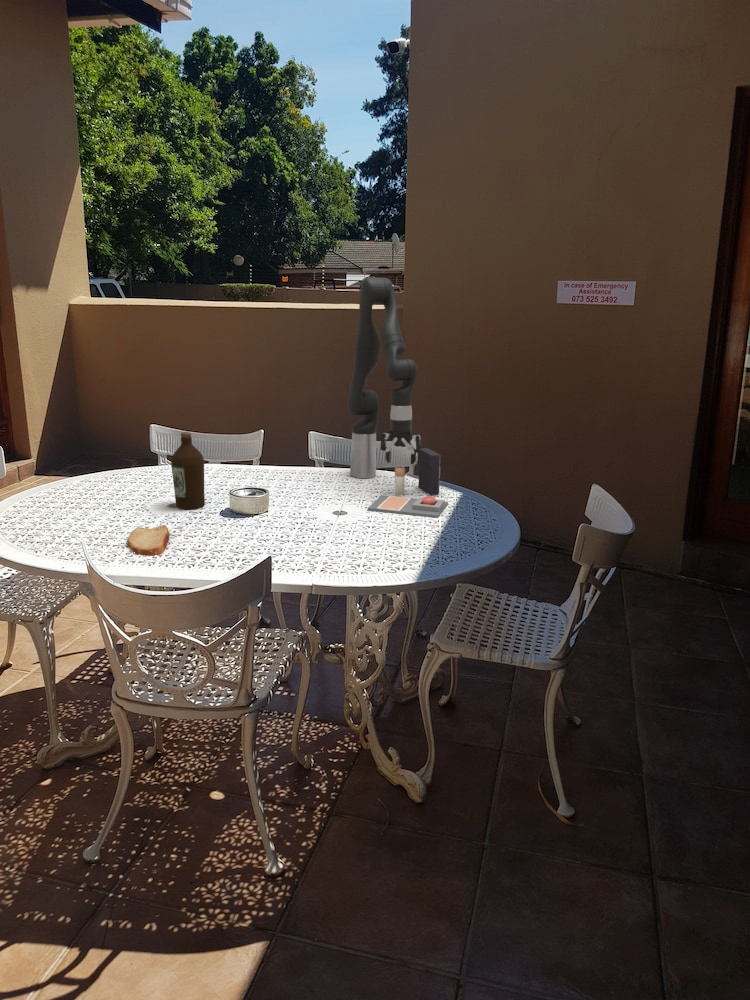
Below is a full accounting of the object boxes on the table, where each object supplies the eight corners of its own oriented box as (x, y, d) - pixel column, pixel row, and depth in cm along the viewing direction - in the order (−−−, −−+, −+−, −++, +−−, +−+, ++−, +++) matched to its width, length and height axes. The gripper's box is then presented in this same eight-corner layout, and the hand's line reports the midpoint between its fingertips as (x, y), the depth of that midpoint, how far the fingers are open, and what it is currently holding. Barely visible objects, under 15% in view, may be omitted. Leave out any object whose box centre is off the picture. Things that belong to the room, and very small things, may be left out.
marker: (393, 495, 267) (393, 467, 264) (396, 492, 270) (396, 465, 267) (403, 496, 266) (403, 468, 263) (405, 493, 269) (406, 466, 266)
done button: (420, 505, 249) (420, 499, 249) (423, 501, 253) (424, 496, 253) (433, 506, 248) (433, 500, 248) (436, 502, 252) (436, 497, 252)
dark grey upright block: (440, 494, 268) (442, 454, 263) (429, 496, 266) (431, 455, 262) (427, 487, 278) (428, 447, 273) (416, 488, 276) (417, 448, 272)
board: (367, 510, 249) (367, 503, 249) (381, 497, 264) (381, 490, 263) (437, 517, 243) (438, 510, 242) (448, 504, 257) (448, 497, 257)
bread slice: (152, 559, 206) (151, 546, 205) (106, 547, 214) (105, 535, 213) (197, 540, 221) (196, 528, 220) (152, 529, 230) (151, 518, 228)
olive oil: (194, 499, 259) (190, 428, 252) (212, 505, 252) (208, 433, 245) (168, 505, 252) (162, 433, 244) (185, 512, 245) (180, 437, 237)
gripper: (423, 417, 261) (422, 462, 266) (384, 414, 265) (384, 459, 270) (418, 420, 255) (417, 466, 259) (378, 418, 259) (378, 464, 263)
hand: (400, 463), depth 264 cm, fingers open, 8 cm apart
